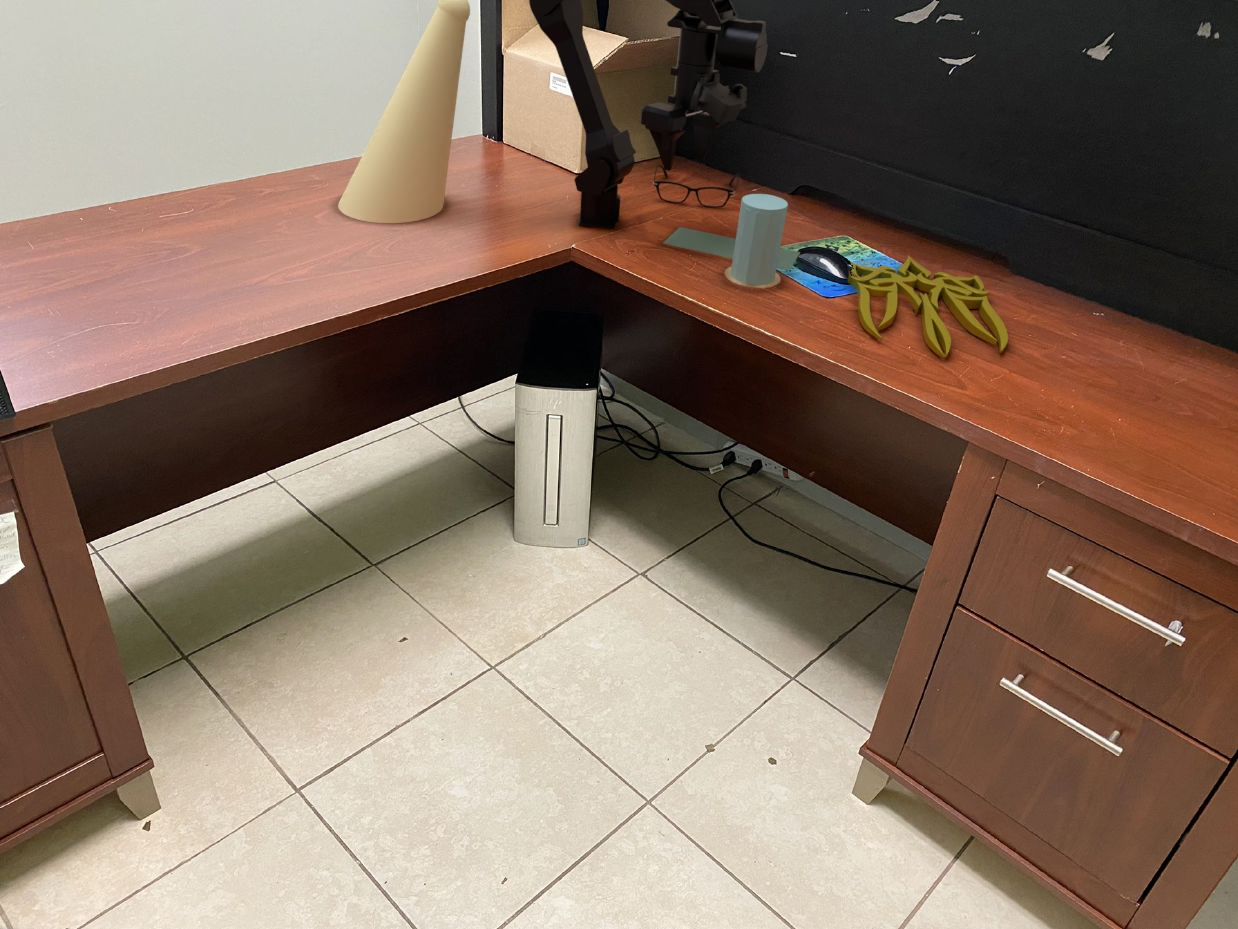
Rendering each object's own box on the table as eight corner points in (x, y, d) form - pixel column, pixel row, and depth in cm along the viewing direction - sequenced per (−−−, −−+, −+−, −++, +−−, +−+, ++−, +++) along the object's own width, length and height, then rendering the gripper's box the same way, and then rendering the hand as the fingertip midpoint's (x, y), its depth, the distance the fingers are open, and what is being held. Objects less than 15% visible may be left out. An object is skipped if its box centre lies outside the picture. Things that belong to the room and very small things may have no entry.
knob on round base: (725, 288, 135) (730, 254, 131) (722, 265, 142) (727, 232, 139) (783, 292, 135) (789, 259, 132) (776, 269, 142) (782, 237, 139)
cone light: (320, 215, 148) (288, -16, 127) (361, 183, 163) (339, -30, 142) (460, 233, 146) (450, 0, 126) (489, 198, 161) (484, -15, 140)
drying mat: (662, 245, 147) (662, 243, 147) (679, 229, 154) (679, 226, 154) (788, 273, 141) (788, 270, 141) (800, 254, 148) (800, 252, 148)
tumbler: (729, 281, 136) (740, 206, 129) (732, 264, 141) (743, 191, 134) (774, 287, 135) (787, 211, 128) (774, 269, 141) (788, 196, 134)
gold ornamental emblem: (974, 261, 146) (1028, 361, 118) (971, 270, 147) (1024, 371, 119) (842, 247, 147) (865, 342, 119) (840, 256, 148) (862, 353, 120)
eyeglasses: (648, 201, 165) (650, 180, 163) (658, 176, 178) (660, 156, 176) (734, 211, 164) (737, 190, 161) (738, 185, 176) (741, 165, 174)
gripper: (703, 80, 123) (690, 189, 132) (772, 65, 135) (756, 165, 144) (642, 65, 128) (634, 171, 138) (713, 52, 141) (702, 150, 150)
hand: (684, 164), depth 142 cm, fingers open, 9 cm apart
